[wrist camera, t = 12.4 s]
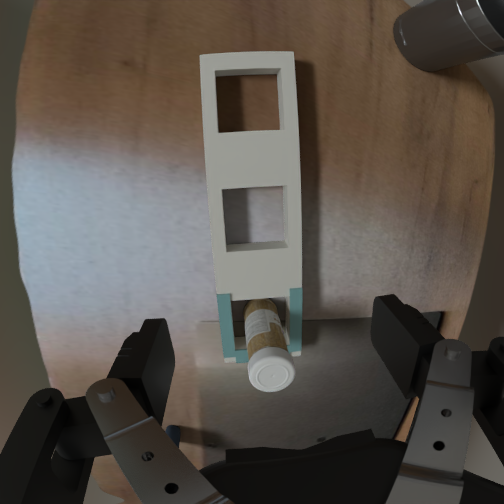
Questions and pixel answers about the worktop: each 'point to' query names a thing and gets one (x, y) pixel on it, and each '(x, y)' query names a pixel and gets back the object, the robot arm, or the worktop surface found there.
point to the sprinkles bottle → (267, 347)
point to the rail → (254, 175)
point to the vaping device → (173, 434)
